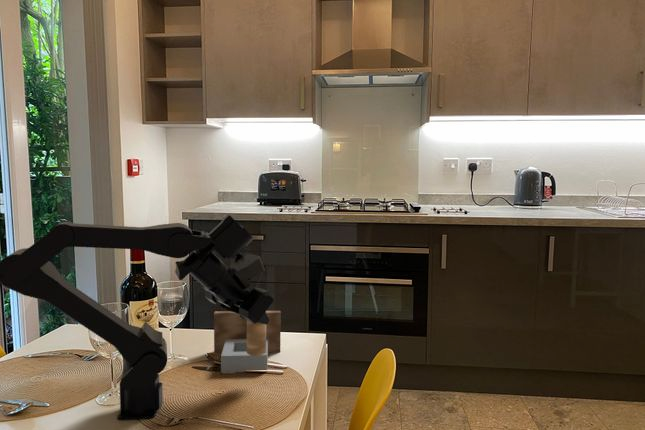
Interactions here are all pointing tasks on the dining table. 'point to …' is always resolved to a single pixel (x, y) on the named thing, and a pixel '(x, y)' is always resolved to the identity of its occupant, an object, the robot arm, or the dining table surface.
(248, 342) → the dowel
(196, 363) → the dining table surface
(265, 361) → the socket block
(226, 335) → the backstop board
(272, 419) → the dining table surface
